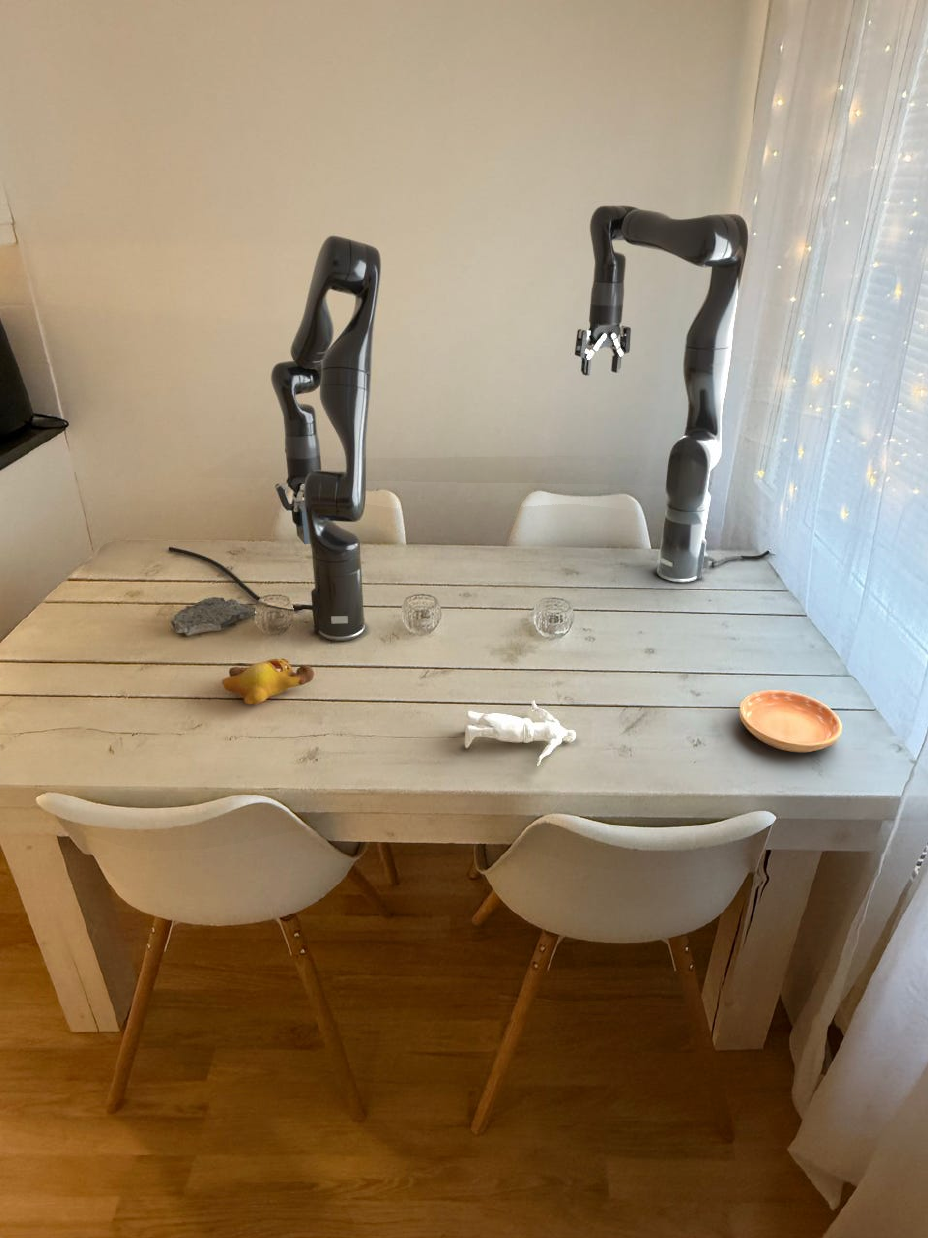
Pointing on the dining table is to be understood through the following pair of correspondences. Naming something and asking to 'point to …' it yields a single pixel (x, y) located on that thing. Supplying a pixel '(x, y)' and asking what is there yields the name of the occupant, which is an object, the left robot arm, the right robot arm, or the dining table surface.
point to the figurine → (517, 729)
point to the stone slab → (210, 615)
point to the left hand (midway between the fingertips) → (309, 523)
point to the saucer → (790, 721)
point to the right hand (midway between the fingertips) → (600, 373)
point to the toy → (265, 679)
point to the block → (303, 525)
